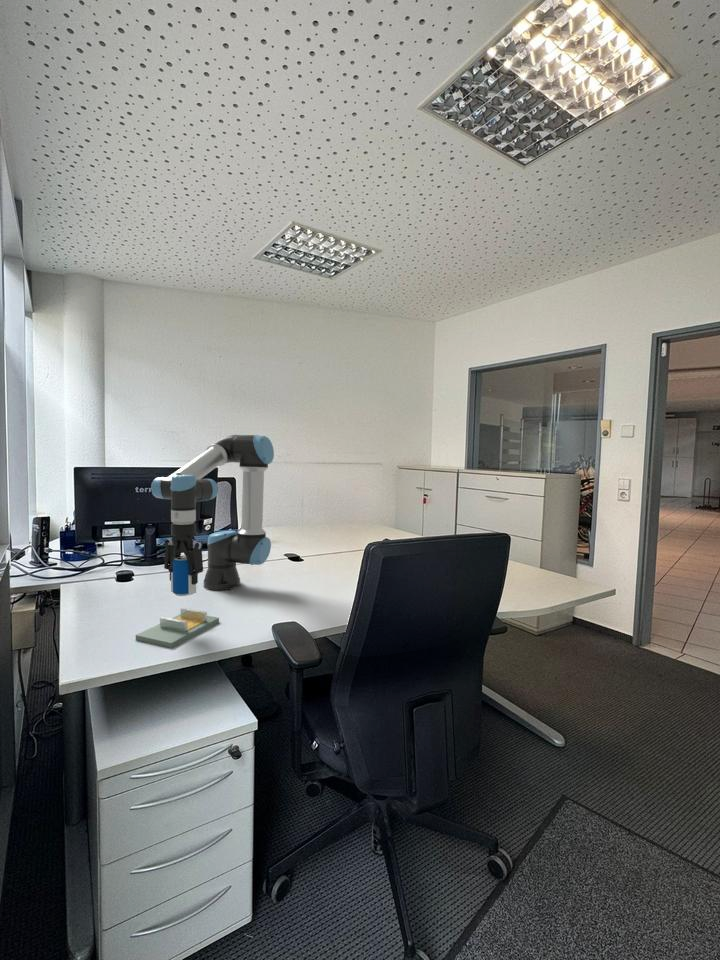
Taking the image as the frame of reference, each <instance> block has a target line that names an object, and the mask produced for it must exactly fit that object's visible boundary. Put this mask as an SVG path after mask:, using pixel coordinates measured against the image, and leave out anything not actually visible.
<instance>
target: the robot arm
mask: <svg viewBox="0 0 720 960" xmlns="http://www.w3.org/2000/svg"><path fill="white" fill-rule="evenodd" d="M274 452H275V451H274V447H273V442H271V439H270V438H269V437H268V436H266V435H259V434H254V435H253V434H252V435H251V434H244V435H243V434H231V435H228V436H225V437H223V438H220V439H218V440H216V441H214V442H213V443H212V444H210V445H208V446H207V448H206V451H204V452H202V453H201V454H199V455H198V456H196V457H195V458H193V459H192V460H191V461H190V462H188V463H186V464H185V465H183V466H181V467H180V468H179V469H177V470H176V471H174V472H173V473H171V474H170V475H168V476H166V477H165V476H161V477H159V476H158V477H155V478H154V479H153V480H152V482H151V484H150V485H151V486H150V490H151V493H152V496H153V497H155V498H156V499H162V500H170V502H171V503H170V504H171V505H170V506H171V507H170V520H171V524H170V535H171V538H167V539H166V538H165V539H164V545H165V547H164V548H165V549H164V550H165V551H164V562H163V563H164V566H163V567H164V569H165V570H168V572H169V581H170V592H171V593H173V561H174V558H177V557H180V556H182V552H183V554H184V556H186V558H187V561H188V566H189V569H190V573H191V574H189V575H188V580H189V595H188V596H191V595H193V594H196V593H197V584H198V582H199V580H198V579H199V576H198V575H199V574H200V573H203V572H204V563H203V551H202V550H203V546H204V545H203V541H200V542H199V541H197V540H196V538H195V536H196V530H197V528H196V527H197V524H196V521H197V520H196V519H197V511H196V510H197V507H196V506H197V503H199V502H208V501H210V500H213V499H215V498H216V497H217V495H218V493H219V485H218V484H217V482H216V481H215V480H214V479H211V478H204V477H205V476H207V475H208V474H209V473H211V472H212V471H213V470H215V469H217V467H221V466H224V465H226V464H228V463H237V464H238V463H239V469H241V471H242V494H241V495H242V496H241V497H242V498H241V499H242V501H241V528H240V529H239V530H238V531H236V530H224V531H217V532H214V533H211V534H209V536H208V537H207V543H206V544H207V545H206V546H207V569H206V573H205V575H204V579H203V588H204V589H207V590H211V591H226V590H232V589H235V588H237V587H239V586H240V585H241V577H240V575H239V572H238V569H237V564H245V565H251V566H254V565H255V566H258V565H259V566H261V565H263V564H264V563H265V562H266V561H267V560H268V558H269V557H270V552H271V549H272V543H271V539H270V538H269V537H268V536H266V535H267V533H266V531H265V530H264V529H263V521H264V520H263V519H264V518H263V517H264V515H263V514H264V490H265V489H264V481H265V472H266V470H268V468H269V464H272V462H273V461H274V458H275V456H274V455H275V453H274ZM178 559H180V558H178Z"/></svg>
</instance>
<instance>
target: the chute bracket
mask: <svg viewBox="0 0 720 960" xmlns="http://www.w3.org/2000/svg"><path fill="white" fill-rule="evenodd" d="M207 613H208V612H207V611H203V610H199V609H198V610H197V609H192V608H189V607H188V608H187V607H181V608H180V614H181V617H179V618H177V619H172V618H173V617H172V618H171V617H168V616H167V617H166V616H161V617H160V618H159V624H160V627H162V628H167V629H172V630H177V631H181V632H186V631H188V630H190V629H192V628H194V627H196V626H198V625H199V624H201V623H203V622H205V621H207V616H208V614H207Z"/></svg>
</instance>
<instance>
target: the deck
mask: <svg viewBox="0 0 720 960" xmlns="http://www.w3.org/2000/svg"><path fill="white" fill-rule="evenodd" d="M179 617H181V613H180V614H178V615H176V616H174V617H173V616H172V619H177V618H179ZM219 622H220V617H217V616H211V615H207V621H205V622H203V623H201V624H199V625H198V626H196V627H194V628H192V629H190V630H188V631H186V632H181V631H177V630H172V629H167V628H162V627H160V623H159V624H156V625H154V626H152V627H150V628H148V629H146V630H144V631H141V632H138V633H137V634H135V641H139V642H143V643H149V644H152V645H157V646H161V647H166V648H169V649H172V648H174V647H176V646H178V645H179V644H181V643H183V642H185V641H187V640H189V639H190V638H192V637H194V636H196V635H198V634H200V633H202V632H203V631H205V630H208V628H211V627H212V626H215V625H216V624H218V623H219Z"/></svg>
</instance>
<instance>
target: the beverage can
mask: <svg viewBox="0 0 720 960" xmlns="http://www.w3.org/2000/svg"><path fill="white" fill-rule="evenodd" d="M178 558H180V559H178ZM189 574H191V573H190V569H189V566H188V561H187V558H186V555H181V556H180V557H177V558H174V561H173V592H172V593H173V594H174V595H175V596H178V597H186V596H190V595H189V580H188V575H189Z"/></svg>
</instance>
